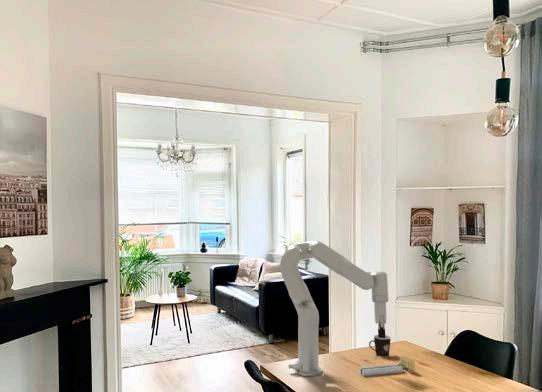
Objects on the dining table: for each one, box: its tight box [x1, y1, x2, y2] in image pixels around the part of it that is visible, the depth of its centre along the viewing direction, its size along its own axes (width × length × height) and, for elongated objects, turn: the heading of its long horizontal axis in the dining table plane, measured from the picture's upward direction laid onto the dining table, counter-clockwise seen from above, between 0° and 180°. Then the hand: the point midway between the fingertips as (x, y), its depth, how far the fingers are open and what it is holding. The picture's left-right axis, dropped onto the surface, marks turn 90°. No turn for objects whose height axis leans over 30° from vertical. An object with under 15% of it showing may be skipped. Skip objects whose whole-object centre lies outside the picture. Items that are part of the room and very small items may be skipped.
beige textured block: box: [399, 355, 416, 374], centre depth 197 cm, size 3×7×5 cm, turn 15°
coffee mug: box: [368, 334, 392, 357], centre depth 221 cm, size 12×9×10 cm
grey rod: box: [358, 362, 402, 375], centre depth 195 cm, size 21×2×3 cm, turn 104°
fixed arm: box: [361, 366, 404, 377], centre depth 193 cm, size 20×1×2 cm, turn 105°
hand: (381, 337), depth 199 cm, fingers closed
